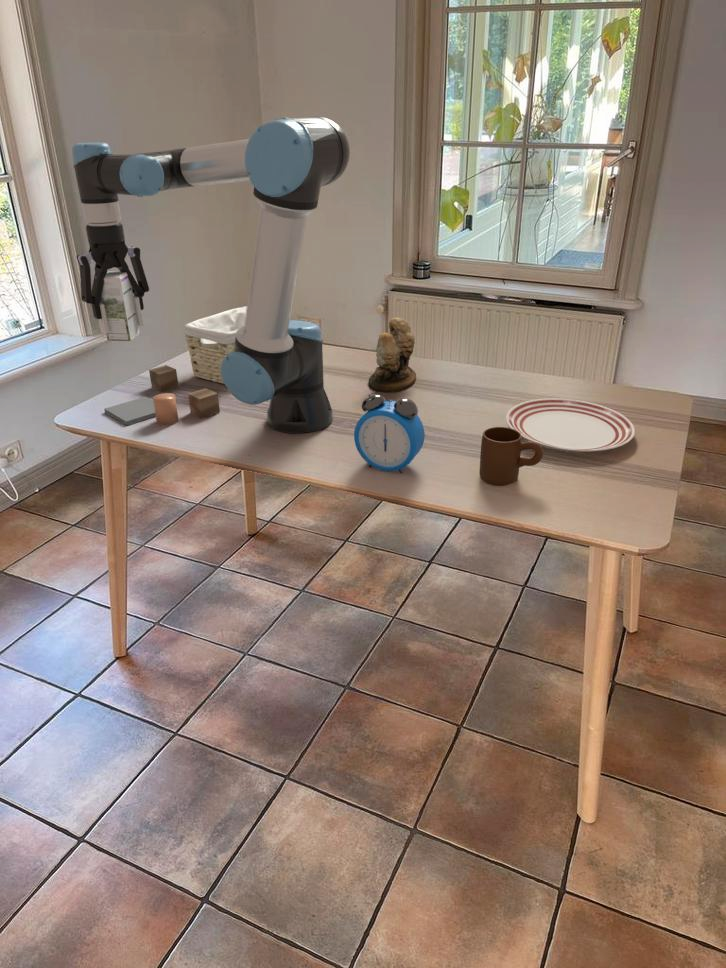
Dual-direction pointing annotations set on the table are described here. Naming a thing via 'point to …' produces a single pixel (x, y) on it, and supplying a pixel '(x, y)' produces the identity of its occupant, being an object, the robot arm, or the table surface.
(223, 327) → the storage basket
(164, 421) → the terracotta cylinder
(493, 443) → the mug
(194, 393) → the walnut block
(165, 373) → the dark oak block
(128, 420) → the slate tile
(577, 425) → the dinner plate
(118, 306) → the syrup box
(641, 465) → the table surface
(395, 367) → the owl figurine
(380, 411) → the alarm clock
